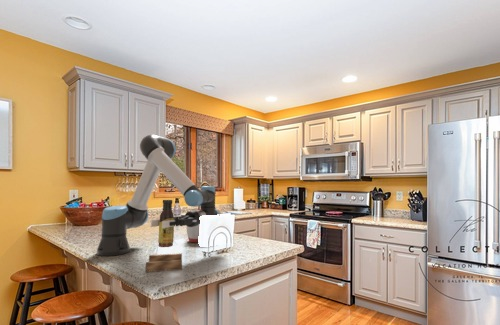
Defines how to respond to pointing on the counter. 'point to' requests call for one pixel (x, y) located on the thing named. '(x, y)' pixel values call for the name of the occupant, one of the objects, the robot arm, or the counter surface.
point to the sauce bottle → (167, 233)
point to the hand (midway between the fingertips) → (157, 224)
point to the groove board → (164, 262)
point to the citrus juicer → (193, 233)
